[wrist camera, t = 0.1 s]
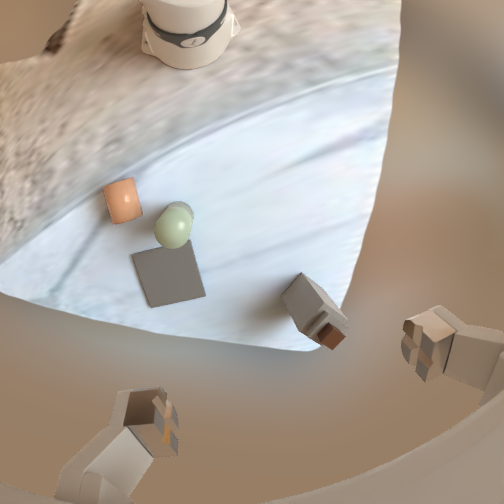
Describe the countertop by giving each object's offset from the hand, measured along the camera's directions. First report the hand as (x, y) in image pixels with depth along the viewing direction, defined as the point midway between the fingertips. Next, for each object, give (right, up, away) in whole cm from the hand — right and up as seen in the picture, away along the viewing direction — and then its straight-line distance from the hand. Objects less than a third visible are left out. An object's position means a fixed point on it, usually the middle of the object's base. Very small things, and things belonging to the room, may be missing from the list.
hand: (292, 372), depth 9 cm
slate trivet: (-18, -1, +49) cm, 52 cm away
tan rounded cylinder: (-25, +14, +43) cm, 51 cm away
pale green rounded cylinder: (-15, +10, +45) cm, 49 cm away
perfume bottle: (+10, -5, +55) cm, 56 cm away
